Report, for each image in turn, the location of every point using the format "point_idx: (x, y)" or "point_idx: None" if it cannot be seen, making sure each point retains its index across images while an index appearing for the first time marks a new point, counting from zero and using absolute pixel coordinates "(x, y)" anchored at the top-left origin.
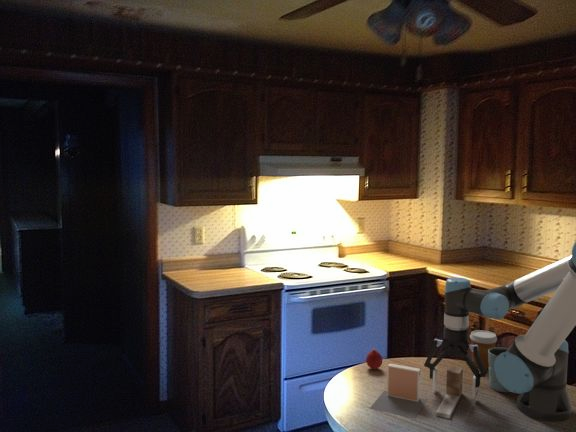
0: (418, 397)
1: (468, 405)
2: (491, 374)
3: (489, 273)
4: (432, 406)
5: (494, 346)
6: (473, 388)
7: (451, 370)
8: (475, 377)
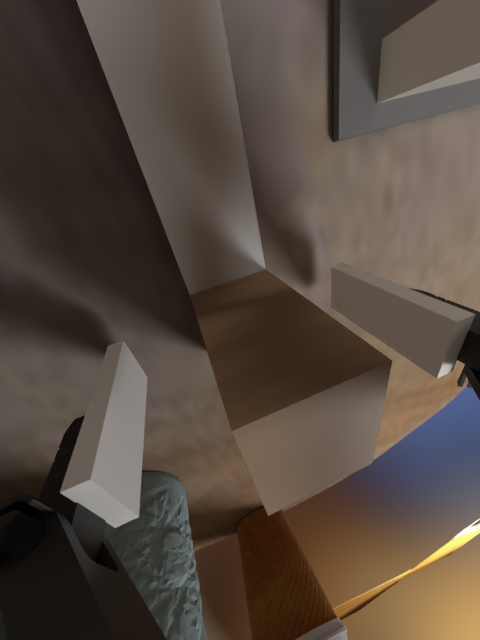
0: (410, 30)
1: (105, 269)
2: (158, 543)
3: (348, 607)
4: (277, 57)
5: (251, 635)
6: (105, 387)
7: (345, 412)
8: (76, 500)
